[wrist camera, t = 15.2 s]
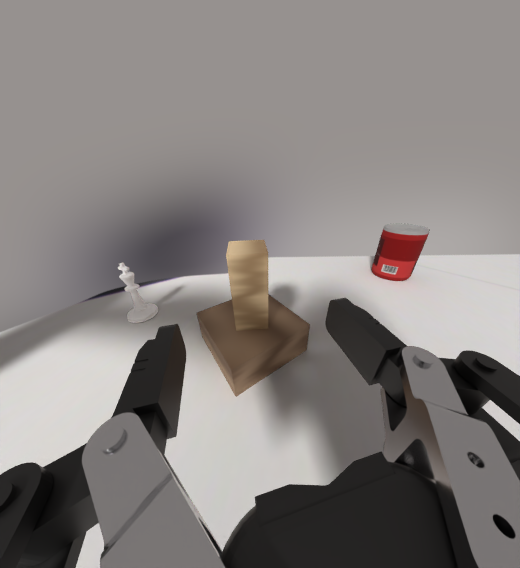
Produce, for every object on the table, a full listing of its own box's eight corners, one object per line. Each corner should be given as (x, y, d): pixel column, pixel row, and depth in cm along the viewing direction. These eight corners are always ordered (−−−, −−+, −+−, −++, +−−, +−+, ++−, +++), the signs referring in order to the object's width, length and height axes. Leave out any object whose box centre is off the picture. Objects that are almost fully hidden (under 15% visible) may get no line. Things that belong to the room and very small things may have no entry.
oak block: (236, 330, 23) (226, 254, 18) (236, 310, 26) (228, 241, 21) (268, 328, 23) (267, 252, 18) (265, 308, 26) (264, 239, 21)
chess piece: (143, 304, 36) (123, 256, 31) (164, 307, 35) (146, 258, 30) (121, 320, 32) (93, 268, 27) (143, 325, 31) (119, 271, 26)
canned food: (418, 281, 41) (440, 231, 36) (381, 282, 41) (398, 232, 36) (396, 266, 48) (412, 222, 42) (364, 267, 48) (377, 223, 42)
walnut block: (236, 398, 21) (231, 369, 18) (202, 338, 29) (196, 312, 26) (306, 351, 26) (309, 324, 23) (261, 312, 34) (260, 288, 31)
